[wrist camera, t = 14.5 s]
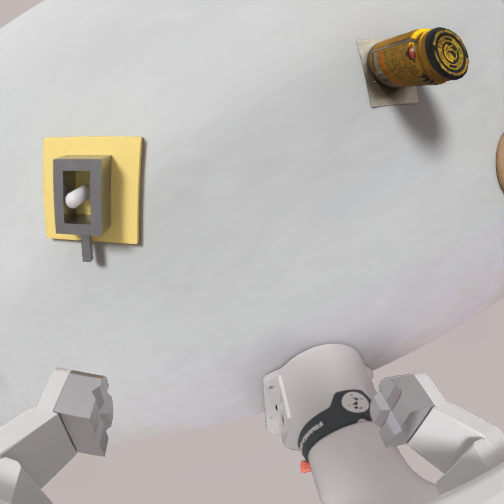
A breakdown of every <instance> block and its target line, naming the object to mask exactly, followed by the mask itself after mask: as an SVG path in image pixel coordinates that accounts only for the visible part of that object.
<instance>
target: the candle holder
mask: <svg viewBox="0 0 504 504" xmlns="http://www.w3.org/2000/svg"><path fill="white" fill-rule="evenodd" d="M496 169H497V176H498V180H499V183H500V185H501V187H502V189H503V190H504V133H503V135H502V137H501V139H500V141H499V145H498V149H497V156H496Z"/></svg>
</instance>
